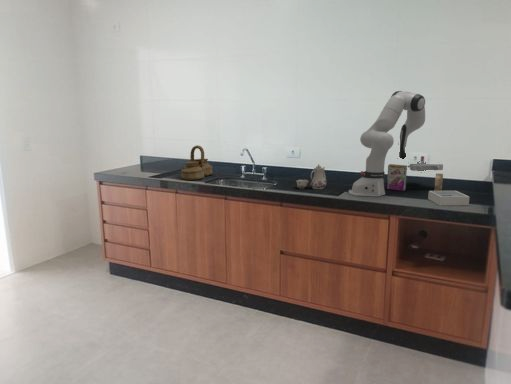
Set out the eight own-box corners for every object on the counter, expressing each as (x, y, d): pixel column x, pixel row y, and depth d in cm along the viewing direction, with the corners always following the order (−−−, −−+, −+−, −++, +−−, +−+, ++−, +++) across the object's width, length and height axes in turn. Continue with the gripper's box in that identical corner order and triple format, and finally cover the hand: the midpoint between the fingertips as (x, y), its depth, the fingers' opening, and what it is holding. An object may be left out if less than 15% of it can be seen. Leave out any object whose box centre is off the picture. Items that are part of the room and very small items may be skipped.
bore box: (439, 205, 230) (440, 196, 229) (428, 199, 245) (428, 190, 244) (468, 205, 230) (469, 196, 229) (455, 198, 245) (456, 190, 244)
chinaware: (317, 185, 298) (316, 162, 296) (337, 186, 286) (336, 162, 284) (292, 191, 278) (291, 166, 276) (312, 192, 267) (311, 166, 264)
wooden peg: (435, 197, 249) (437, 174, 246) (432, 196, 253) (434, 173, 250) (442, 197, 249) (444, 174, 246) (439, 196, 253) (441, 173, 250)
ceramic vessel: (194, 173, 344) (193, 143, 338) (215, 174, 339) (215, 143, 334) (176, 180, 311) (175, 147, 306) (199, 181, 307) (198, 147, 301)
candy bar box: (386, 189, 274) (387, 164, 271) (388, 188, 278) (390, 163, 275) (403, 191, 268) (405, 166, 264) (405, 189, 272) (407, 165, 268)
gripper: (406, 161, 274) (414, 164, 261) (437, 160, 274) (447, 163, 261) (406, 170, 276) (413, 174, 262) (437, 170, 275) (446, 173, 262)
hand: (430, 168), depth 261 cm, fingers open, 8 cm apart
